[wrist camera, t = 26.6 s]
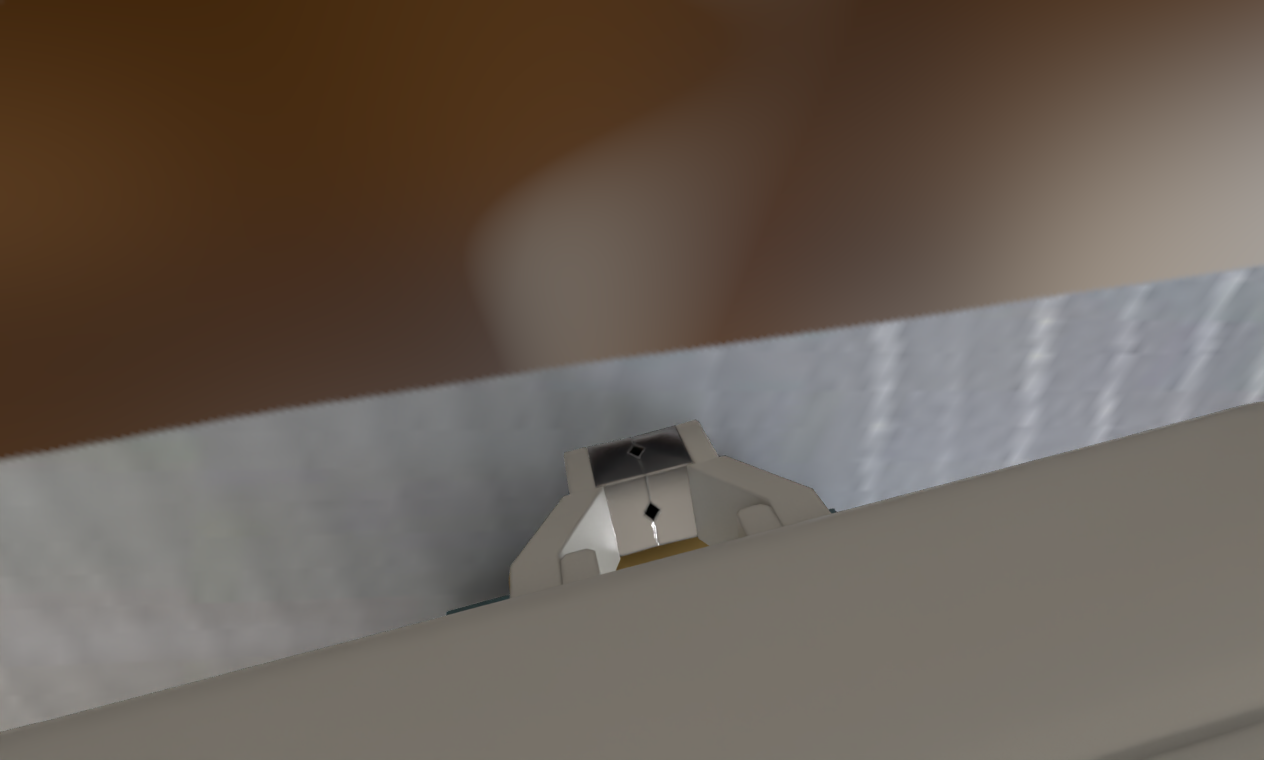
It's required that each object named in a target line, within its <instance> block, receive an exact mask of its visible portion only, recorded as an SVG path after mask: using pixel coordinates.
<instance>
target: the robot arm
mask: <svg viewBox="0 0 1264 760" xmlns="http://www.w3.org/2000/svg"><path fill="white" fill-rule="evenodd" d="M587 448H588V451H587ZM587 448H586V447H583V448H579V449H575V450H571V451H567V452H564V462H565V468H566V475H567V482H568V488H569V495H566V496H563V497H562V499H561V500H560V501H559V503H558V504H557V505H556V507H555V508H554V509H553V511H552V512H551V513H550V514H549V516H548V517H547V518H546V520H545V521H544V522H543V524H542V525H541V526H540V528H539V529H538V530H537V532H536V533H535V534H534V536H533V537H532V538H531V540H530V541H529V542H528V543H527V545H526V546H525V547H524V549H523V550H522V551H521V553H520V554H519V555H518V557H517V558H516V559H515V561H514V562H513V563H512V565H511V566H510V599H506V600H502V601H499V602H495V603H491V604H487V605H484V606H480V607H476V608H472V609H468V610H465V611H461V612H457V613H453V614H449V615H446V616H442V617H438V618H434V619H430V620H427V621H423V622H419V623H415V624H411V625H408V626H404V627H400V628H396V629H393V630H389V631H385V632H381V633H377V634H374V635H370V636H366V637H362V638H358V639H355V640H351V641H347V642H343V643H339V644H336V645H332V646H328V647H324V648H320V649H317V650H313V651H309V652H305V653H302V654H298V655H294V656H290V657H286V658H283V659H279V660H275V661H271V662H267V663H264V664H260V665H256V666H252V667H248V668H245V669H241V670H237V671H233V672H229V673H226V674H222V675H218V676H214V677H210V678H207V679H203V680H199V681H195V682H191V683H188V684H184V685H180V686H176V687H172V688H169V689H165V690H161V691H157V692H153V693H150V694H146V695H142V696H138V697H135V698H131V699H127V700H123V701H119V702H116V703H112V704H108V705H104V706H100V707H97V708H93V709H89V710H85V711H81V712H78V713H74V714H70V715H66V716H62V717H59V718H55V719H51V720H46V721H42V722H38V723H34V724H30V725H26V726H22V727H17V728H13V729H9V730H5V731H2V732H0V760H1264V402H1256V403H1250V404H1245V405H1241V406H1237V407H1233V408H1229V409H1226V410H1222V411H1218V412H1215V413H1211V414H1207V415H1204V416H1200V417H1196V418H1192V419H1189V420H1185V421H1181V422H1177V423H1173V424H1170V425H1166V426H1162V427H1158V428H1154V429H1151V430H1147V431H1143V432H1139V433H1136V434H1132V435H1128V436H1124V437H1120V438H1117V439H1113V440H1109V441H1105V442H1101V443H1098V444H1094V445H1090V446H1086V447H1082V448H1079V449H1075V450H1071V451H1067V452H1064V453H1060V454H1056V455H1052V456H1048V457H1045V458H1041V459H1037V460H1033V461H1029V462H1026V463H1022V464H1018V465H1014V466H1010V467H1007V468H1003V469H999V470H995V471H991V472H988V473H984V474H980V475H976V476H972V477H969V478H965V479H961V480H957V481H953V482H950V483H946V484H942V485H938V486H934V487H931V488H927V489H923V490H919V491H915V492H912V493H908V494H904V495H900V496H896V497H893V498H889V499H885V500H881V501H878V502H874V503H870V504H866V505H862V506H859V507H855V508H851V509H847V510H843V511H840V512H836V513H832V514H831V512H830V511H829V510H828V508H827V507H826V506H825V504H824V503H823V502H822V500H821V499H820V498H819V496H818V495H817V494H816V492H815V491H814V490H813V489H812V488H809V487H807V486H804V485H801V484H799V483H796V482H793V481H791V480H788V479H785V478H783V477H780V476H778V475H775V474H772V473H770V472H767V471H764V470H762V469H759V468H756V467H754V466H751V465H748V464H746V463H743V462H741V461H738V460H735V459H733V458H730V457H727V456H721V457H719V456H718V454H717V453H716V451H715V449H714V448H713V446H712V444H711V442H710V441H709V439H708V437H707V435H706V434H705V432H704V430H703V428H702V427H701V425H700V423H699V421H697V420H692V421H689V422H685V423H682V424H678V425H675V426H671V427H668V428H664V429H660V430H657V431H653V432H649V433H646V434H642V435H638V436H635V437H628V438H624V439H619V440H615V441H610V442H606V443H601V444H597V445H592V446H588V447H587ZM588 453H589V454H588ZM695 537H698V539H700V540H701V541H703V542H704V543H706V544H707V545H709V546H707V547H703V548H700V549H696V550H692V551H688V552H684V553H681V554H677V555H673V556H669V557H665V558H662V559H658V560H654V561H650V562H646V563H643V564H639V565H635V566H631V567H628V568H624V569H620V570H616V568H617V566H618V564H619V561H620V557H622V556H626V555H629V554H633V553H636V552H639V551H643V550H646V549H650V548H653V547H657V546H661V545H665V544H669V543H673V542H678V541H682V540H686V539H690V538H695Z"/></svg>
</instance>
